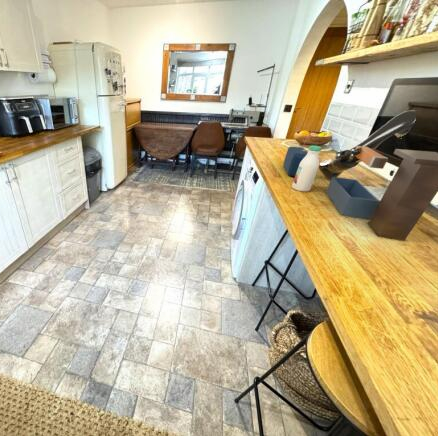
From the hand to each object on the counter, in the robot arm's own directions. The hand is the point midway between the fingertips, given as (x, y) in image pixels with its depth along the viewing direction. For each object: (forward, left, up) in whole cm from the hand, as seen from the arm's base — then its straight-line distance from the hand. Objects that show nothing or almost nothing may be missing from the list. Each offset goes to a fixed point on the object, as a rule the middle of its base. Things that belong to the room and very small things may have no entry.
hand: (366, 150), depth 92 cm
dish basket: (0, +4, -22) cm, 22 cm away
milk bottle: (+15, -8, -22) cm, 28 cm away
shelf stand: (-6, +22, -22) cm, 31 cm away
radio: (+15, -34, -22) cm, 44 cm away
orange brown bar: (0, +4, -3) cm, 5 cm away
